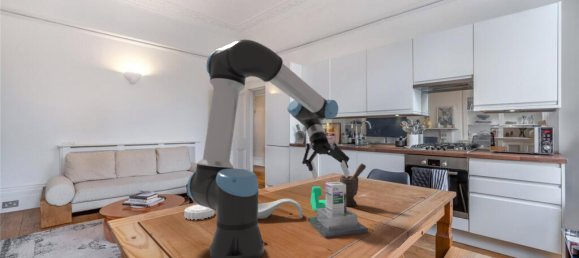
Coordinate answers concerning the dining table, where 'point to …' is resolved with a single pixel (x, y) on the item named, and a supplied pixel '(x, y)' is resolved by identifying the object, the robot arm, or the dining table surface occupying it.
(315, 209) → the camera mount
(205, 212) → the mooncake
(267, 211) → the spoon rest
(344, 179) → the mortar and pestle
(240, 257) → the robot arm
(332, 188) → the syrup box
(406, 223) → the dining table surface
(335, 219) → the docking sleeve
